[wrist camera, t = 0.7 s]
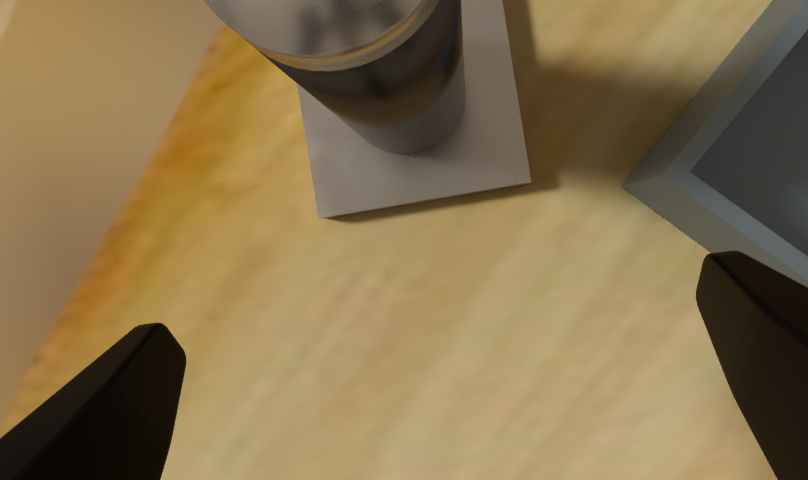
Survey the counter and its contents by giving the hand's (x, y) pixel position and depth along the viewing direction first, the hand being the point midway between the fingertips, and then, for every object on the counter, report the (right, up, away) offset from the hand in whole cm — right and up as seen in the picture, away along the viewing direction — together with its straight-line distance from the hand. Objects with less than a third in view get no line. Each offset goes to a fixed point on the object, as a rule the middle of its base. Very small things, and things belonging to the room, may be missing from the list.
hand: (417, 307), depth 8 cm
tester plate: (0, +7, +13) cm, 15 cm away
